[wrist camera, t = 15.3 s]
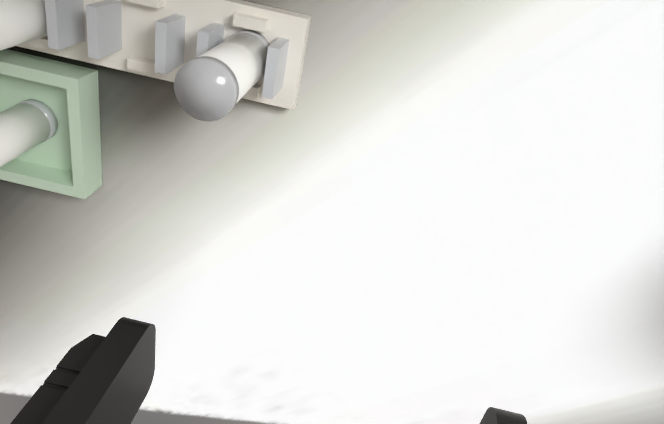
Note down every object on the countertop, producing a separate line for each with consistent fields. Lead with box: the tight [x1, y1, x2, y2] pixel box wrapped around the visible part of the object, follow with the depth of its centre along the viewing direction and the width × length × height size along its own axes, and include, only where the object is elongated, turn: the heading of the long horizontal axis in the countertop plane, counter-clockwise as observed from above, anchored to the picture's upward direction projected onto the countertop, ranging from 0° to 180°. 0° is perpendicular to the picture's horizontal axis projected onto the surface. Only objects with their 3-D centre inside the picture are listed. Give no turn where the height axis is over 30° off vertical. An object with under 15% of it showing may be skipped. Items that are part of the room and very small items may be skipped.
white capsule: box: [174, 30, 270, 121], centre depth 35 cm, size 4×4×10 cm
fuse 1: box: [0, 0, 47, 50], centre depth 35 cm, size 4×4×10 cm
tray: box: [0, 49, 102, 199], centre depth 45 cm, size 11×11×3 cm
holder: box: [17, 0, 311, 110], centre depth 39 cm, size 7×24×5 cm, turn 79°
